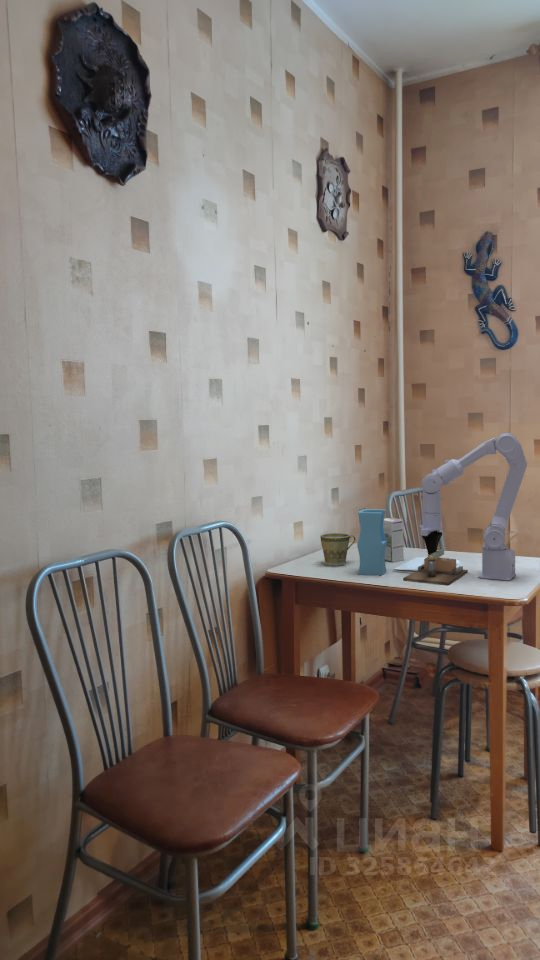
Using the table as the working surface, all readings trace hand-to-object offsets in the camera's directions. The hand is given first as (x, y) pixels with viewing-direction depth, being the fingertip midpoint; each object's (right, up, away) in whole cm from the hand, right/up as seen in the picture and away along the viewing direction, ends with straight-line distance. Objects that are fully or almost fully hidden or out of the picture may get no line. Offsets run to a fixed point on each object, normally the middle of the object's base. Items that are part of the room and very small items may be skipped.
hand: (432, 555), depth 223 cm
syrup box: (-8, -4, +24) cm, 26 cm away
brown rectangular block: (+3, -5, +1) cm, 6 cm away
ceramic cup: (-27, -5, +21) cm, 35 cm away
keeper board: (+1, -6, -3) cm, 7 cm away
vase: (-18, -6, +6) cm, 20 cm away
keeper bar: (+1, 0, -2) cm, 2 cm away
